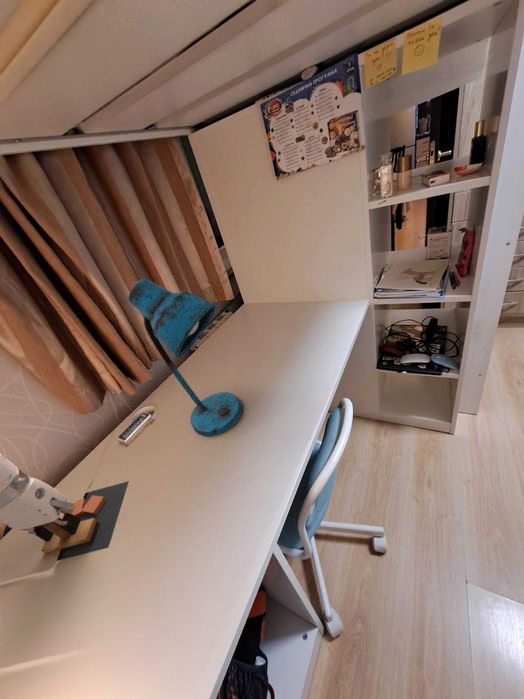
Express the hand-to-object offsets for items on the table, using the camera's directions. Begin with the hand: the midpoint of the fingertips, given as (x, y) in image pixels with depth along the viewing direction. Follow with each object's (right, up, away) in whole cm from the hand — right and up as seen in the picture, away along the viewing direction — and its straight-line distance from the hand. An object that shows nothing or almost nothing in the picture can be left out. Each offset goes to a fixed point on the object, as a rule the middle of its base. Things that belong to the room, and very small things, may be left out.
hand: (63, 531), depth 65 cm
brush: (+1, -3, +2) cm, 4 cm away
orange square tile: (+3, +1, +8) cm, 8 cm away
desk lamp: (+33, +21, +23) cm, 45 cm away
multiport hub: (+5, +15, +28) cm, 32 cm away
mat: (+1, -1, +6) cm, 6 cm away
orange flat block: (-2, 0, +8) cm, 8 cm away
